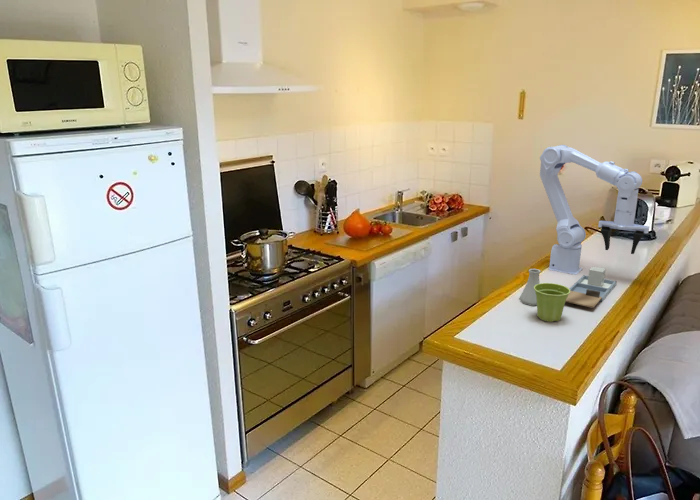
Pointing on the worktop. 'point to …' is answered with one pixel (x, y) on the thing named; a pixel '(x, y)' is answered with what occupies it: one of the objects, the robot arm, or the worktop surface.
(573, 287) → the tray
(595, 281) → the block
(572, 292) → the door
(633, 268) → the worktop surface
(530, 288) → the flask
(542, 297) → the plant pot
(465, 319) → the worktop surface
